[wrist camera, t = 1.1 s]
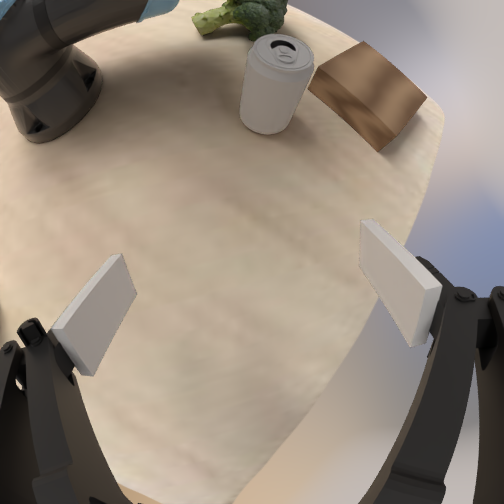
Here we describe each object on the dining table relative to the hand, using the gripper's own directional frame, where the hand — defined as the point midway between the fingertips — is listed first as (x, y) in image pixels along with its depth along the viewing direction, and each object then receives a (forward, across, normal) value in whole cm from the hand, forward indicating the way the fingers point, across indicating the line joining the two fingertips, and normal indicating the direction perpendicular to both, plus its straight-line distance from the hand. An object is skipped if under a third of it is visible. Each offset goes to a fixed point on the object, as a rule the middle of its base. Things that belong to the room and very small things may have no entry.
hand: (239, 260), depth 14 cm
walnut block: (+28, +19, +10) cm, 35 cm away
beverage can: (+23, +3, +8) cm, 25 cm away
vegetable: (+33, +2, +24) cm, 40 cm away
